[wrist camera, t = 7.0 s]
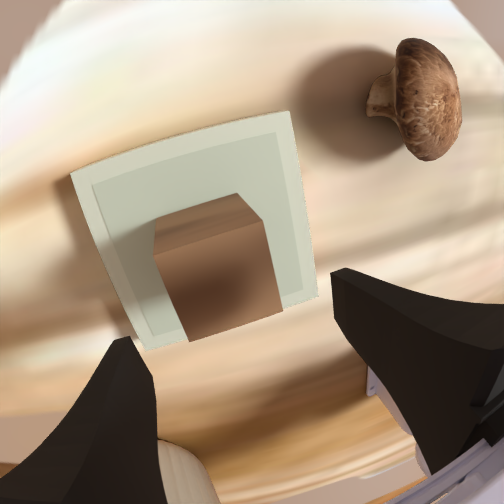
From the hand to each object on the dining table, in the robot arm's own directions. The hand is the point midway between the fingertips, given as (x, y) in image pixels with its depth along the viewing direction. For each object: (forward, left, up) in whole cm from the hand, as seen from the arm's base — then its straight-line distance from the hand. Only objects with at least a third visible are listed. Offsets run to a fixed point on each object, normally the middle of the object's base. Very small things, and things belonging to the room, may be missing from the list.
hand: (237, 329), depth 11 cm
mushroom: (+6, -15, -10) cm, 19 cm away
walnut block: (0, 0, -8) cm, 8 cm away
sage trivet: (0, 0, -10) cm, 10 cm away
